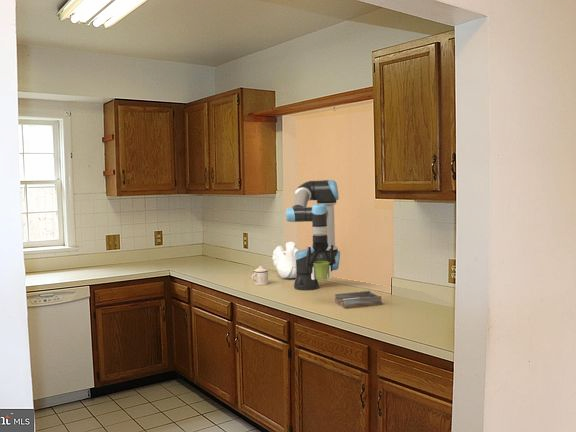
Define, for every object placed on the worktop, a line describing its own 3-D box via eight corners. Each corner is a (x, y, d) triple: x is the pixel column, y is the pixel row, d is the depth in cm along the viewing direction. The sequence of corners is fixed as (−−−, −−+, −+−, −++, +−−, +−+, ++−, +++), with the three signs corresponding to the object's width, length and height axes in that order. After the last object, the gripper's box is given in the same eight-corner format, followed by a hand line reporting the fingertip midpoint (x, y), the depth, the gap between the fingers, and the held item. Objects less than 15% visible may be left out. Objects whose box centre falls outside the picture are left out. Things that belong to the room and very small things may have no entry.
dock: (335, 302, 287) (334, 294, 287) (369, 299, 293) (369, 290, 292) (345, 308, 273) (345, 300, 273) (381, 304, 279) (381, 296, 279)
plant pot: (319, 276, 283) (318, 260, 283) (333, 278, 277) (333, 261, 277) (308, 279, 276) (307, 262, 275) (323, 281, 270) (322, 264, 269)
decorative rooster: (307, 278, 356) (306, 241, 354) (287, 281, 348) (286, 243, 346) (288, 273, 378) (287, 238, 376) (268, 276, 369) (267, 240, 368)
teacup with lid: (262, 282, 350) (261, 264, 349) (271, 283, 343) (270, 265, 342) (247, 285, 342) (247, 266, 341) (256, 286, 335) (256, 268, 334)
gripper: (302, 236, 268) (303, 281, 270) (341, 234, 274) (343, 278, 276) (298, 235, 275) (299, 279, 277) (336, 232, 281) (337, 275, 283)
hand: (321, 278), depth 277 cm, fingers closed on plant pot, 8 cm apart
